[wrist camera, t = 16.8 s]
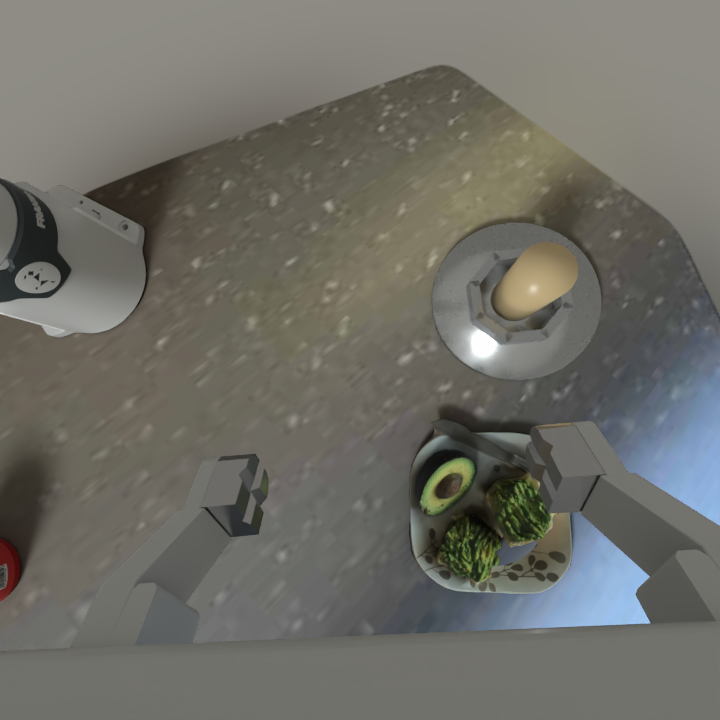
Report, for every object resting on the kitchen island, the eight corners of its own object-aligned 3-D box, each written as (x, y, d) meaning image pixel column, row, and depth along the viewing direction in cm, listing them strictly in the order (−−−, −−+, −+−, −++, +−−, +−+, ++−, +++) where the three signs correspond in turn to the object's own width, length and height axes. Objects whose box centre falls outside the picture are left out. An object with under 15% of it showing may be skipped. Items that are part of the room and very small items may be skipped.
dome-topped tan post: (481, 303, 39) (504, 275, 30) (509, 268, 39) (540, 231, 30) (518, 330, 38) (553, 310, 29) (546, 295, 38) (590, 264, 29)
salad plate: (588, 420, 37) (614, 424, 33) (598, 595, 36) (626, 625, 31) (408, 416, 40) (409, 419, 35) (408, 580, 38) (409, 605, 33)
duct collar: (400, 315, 41) (399, 309, 38) (495, 197, 41) (502, 182, 38) (528, 413, 38) (539, 415, 35) (631, 286, 38) (650, 277, 35)
